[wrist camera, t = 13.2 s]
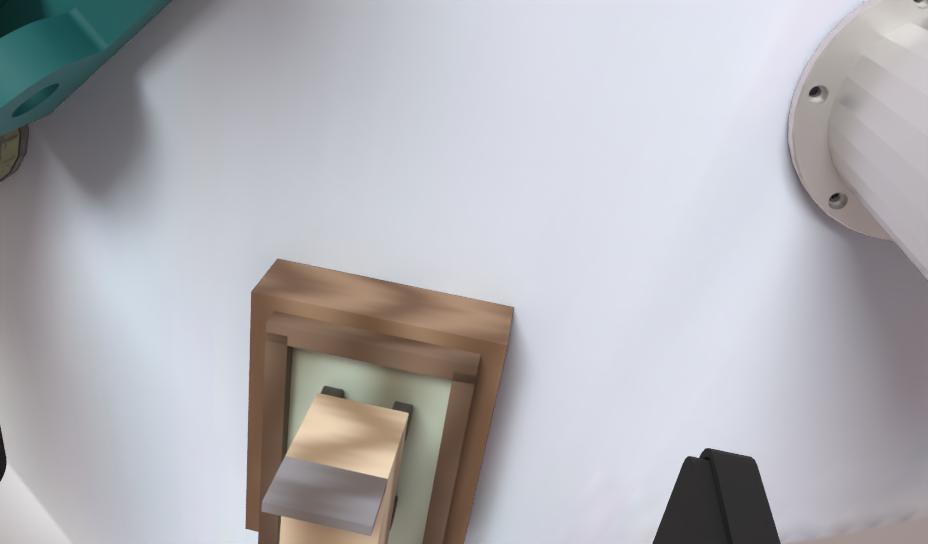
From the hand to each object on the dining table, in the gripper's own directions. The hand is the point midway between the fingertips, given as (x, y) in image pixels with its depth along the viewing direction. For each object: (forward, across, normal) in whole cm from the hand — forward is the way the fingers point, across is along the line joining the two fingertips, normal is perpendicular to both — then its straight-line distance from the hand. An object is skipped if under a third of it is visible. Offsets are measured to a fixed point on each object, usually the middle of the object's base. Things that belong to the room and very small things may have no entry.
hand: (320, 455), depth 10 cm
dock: (+30, +4, +24) cm, 39 cm away
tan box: (+26, +4, +24) cm, 36 cm away
